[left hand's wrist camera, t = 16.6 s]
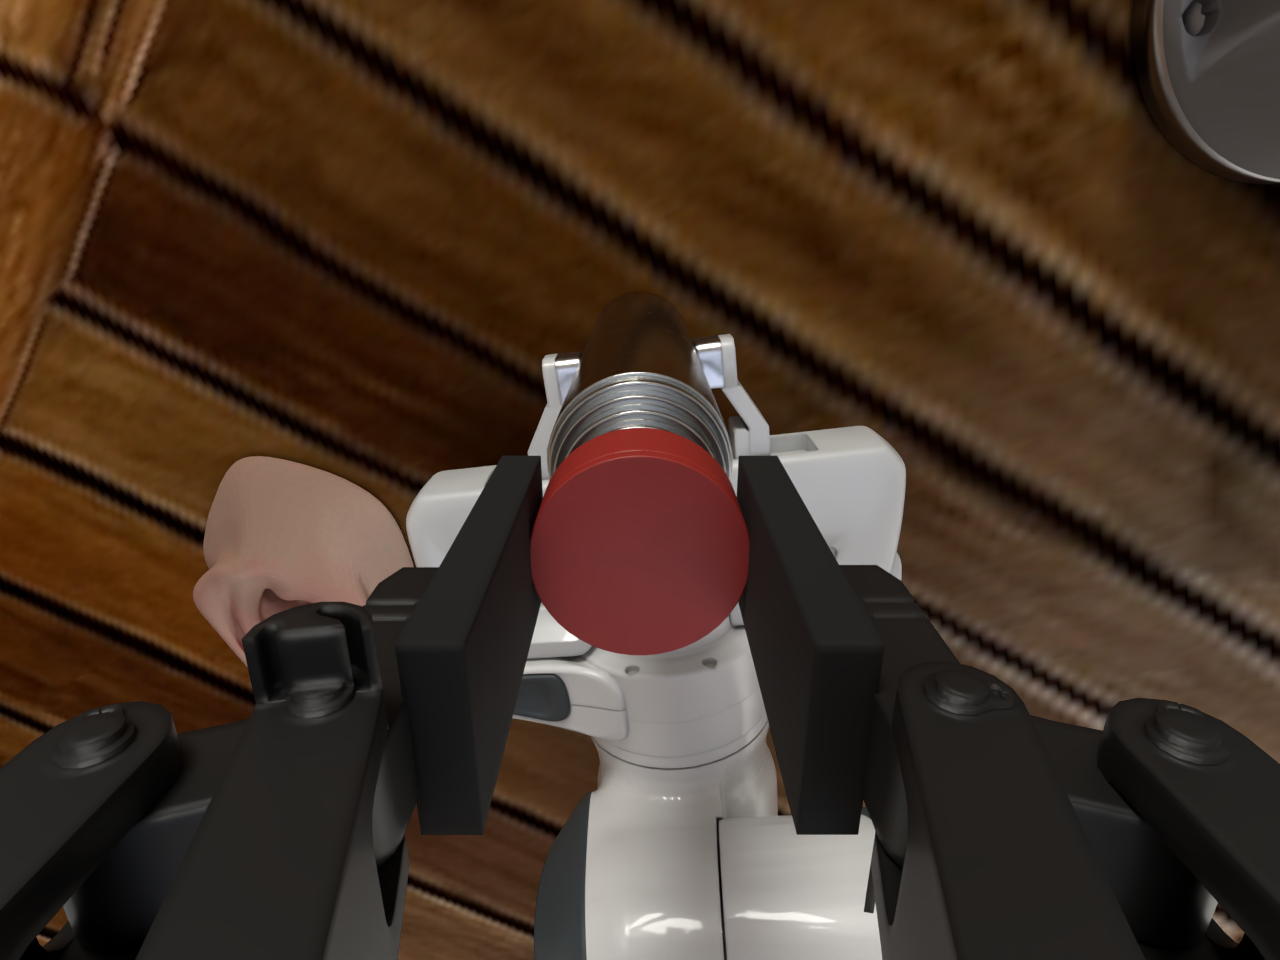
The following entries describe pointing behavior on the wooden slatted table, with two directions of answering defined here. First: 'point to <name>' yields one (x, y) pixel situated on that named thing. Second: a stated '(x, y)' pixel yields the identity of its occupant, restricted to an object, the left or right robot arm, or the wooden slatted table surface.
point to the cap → (639, 543)
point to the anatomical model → (291, 545)
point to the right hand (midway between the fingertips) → (636, 346)
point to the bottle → (639, 382)
